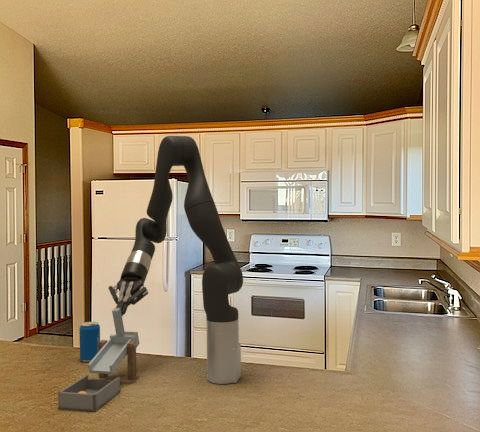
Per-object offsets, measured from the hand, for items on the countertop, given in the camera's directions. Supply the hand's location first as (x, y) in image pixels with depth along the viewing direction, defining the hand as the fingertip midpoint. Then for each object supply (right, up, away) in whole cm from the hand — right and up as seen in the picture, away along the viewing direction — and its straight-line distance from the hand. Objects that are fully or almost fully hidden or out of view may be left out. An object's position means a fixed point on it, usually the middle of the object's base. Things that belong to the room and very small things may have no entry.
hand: (119, 314), depth 139 cm
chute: (0, -13, -2) cm, 13 cm away
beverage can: (-14, -19, +18) cm, 30 cm away
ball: (-4, -17, -20) cm, 27 cm away
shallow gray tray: (-3, -19, -16) cm, 25 cm away
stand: (0, -18, -2) cm, 19 cm away
